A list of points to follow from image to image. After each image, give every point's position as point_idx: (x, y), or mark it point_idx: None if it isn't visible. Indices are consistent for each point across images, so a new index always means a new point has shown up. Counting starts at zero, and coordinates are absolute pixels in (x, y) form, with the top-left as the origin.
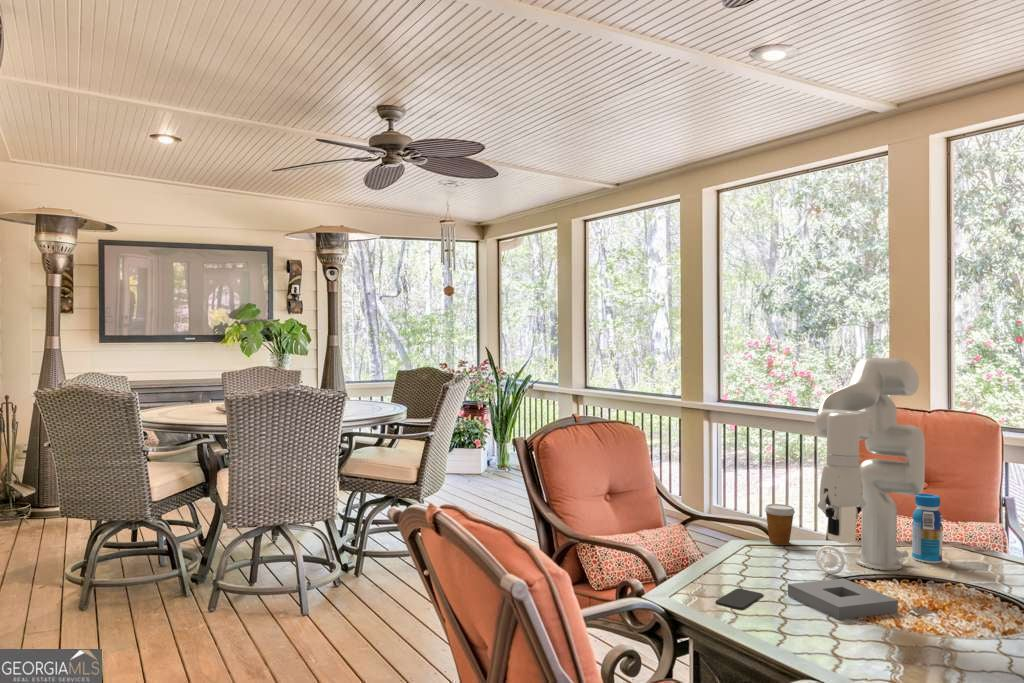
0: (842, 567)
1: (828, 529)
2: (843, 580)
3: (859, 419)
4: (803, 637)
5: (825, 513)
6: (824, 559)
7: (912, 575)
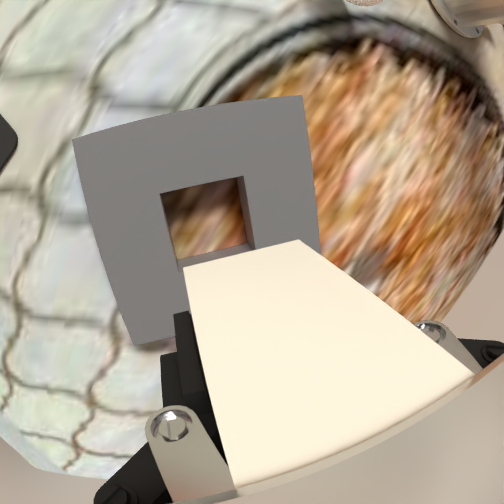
0: (363, 5)
1: (161, 358)
2: (288, 115)
3: None
4: (39, 395)
5: (126, 476)
6: None
7: (474, 70)
